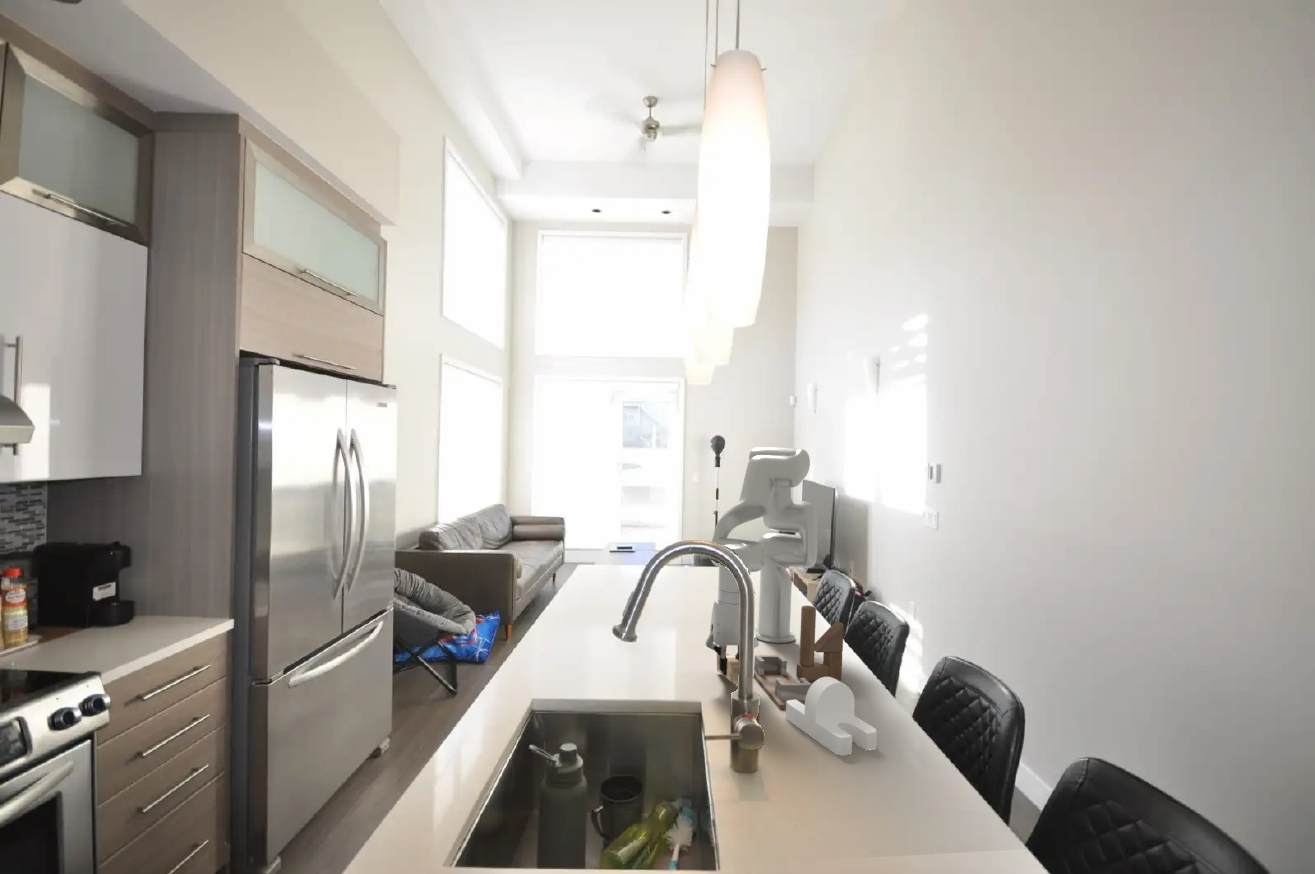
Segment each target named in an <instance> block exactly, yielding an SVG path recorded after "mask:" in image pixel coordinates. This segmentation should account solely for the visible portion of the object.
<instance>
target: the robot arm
mask: <svg viewBox="0 0 1315 874" xmlns="http://www.w3.org/2000/svg"><path fill="white" fill-rule="evenodd" d="M748 457H749V458H748V463H747V466H746V469H745V473H744V479H743V483H742V488H741V491H740V496H739V499H738V502H737V503H735V505H733V506H732V507H731V508H729V509H728V510H727V511H726V512H725V513H724V514H723V515H722V516H721V517H720V519H719V520H718V522H717V523H716V525H715V528H714V532H713V537H712V540H711V543H712V542H716V543H717V544H720V545H725V546H726V547H728V548H730V549H731V550H734V552H735V553H736V554H738V555H739V558H740V559H742V561H743V563H744V564H745V565H746V566H747V568H748V573H749V575H750V576H751V573H755V572H756V573H757V572H759V571H760V575H759V577H760V578H759V580H760V581H759V598H758V599H759V604H758V606H759V607H758V623H757V625H758V626H757V627H758V628H755V629H756V637H755V638H754V648H753V649H755V648H758V646H759V645H760V643H759V642H758V640H760V641H762V642H765V643H767V642H768V643H774V644H775V643H776V644H786V643H791V642H793V641H795V638H796V637H795V636H796V635H795V634H794V633H793V632H792V631H791V611H792V610H791V609H792V608H791V607H792V589H793V588H792V586H793V585H792V584H793V583H792V582H793V581H792V578H791V575H790V574H789V573H790V572H788V569H786V567H793V568H801V569H809V568H811V569H812V568H813V567H814V566H815V564H816V562H817V557H818V516H817V515H818V514H817V510H816V507H815V505H814V504H813V503H812V502H811V501H810V502H809V501H805V500H794V499H793V498H792V488H796V487H797V486H799V485H801V482H803V480H804V479H805V478H806V476H807V475H808V473H809V470H810V466H811V459H810V458H811V457H810V455H809V452H808V451H807V450H805V449H804V448H796V447H794V448H792V447H790V448H789V447H775V446H773V447H772V446H760V447H759V446H758V447H754V448H752V449H751V450H750V452H749V456H748ZM760 518H763V519H762V521H763V524H764V527H766V529H769V530H773V531H778V532H777V533H776V532H772V533H769V532H767V533H766V534H763V535H762V536H761V537H760V539H759V541H755V540H750V539H749V540H747V539H746V540H745V539H740V538H732V537H729V535H730V534H731V532H732V531H734V529H735V528H737V527H739V526H741V525H743V524H745V523H747V522H751V521H754V520H756V519H760ZM780 532H789V533H797V534H789V533H780ZM798 534H799V535H798ZM710 561H711V562H712V564H713V565H714V566H716V567H718V588H717V590H718V591H717V599H715V600H714V601H713V606H712V611H711V616H710V617H711V618H710V626H709V636H708V637H707V638H706V641H705V643H704V645H705V646H706V647H707V648H709V649H711V650H713V651H714V652H715V654H716V655H717V654H718V655H719V656H720V659H719V669H720V670H721V671H722V673H723V675H727V661H728V659H727V658H726V654H727V647H728V646H736V647H737V648H736V649H737V653H736V654H735V656H734V658H735V659H737V660H739V589H738V586H737V583H736V581H735V579H734V577H733V575H732V573H730V571H729V570H728V569H727V568H725V567H724V566H723V565H721V564H720V563H716V562H715V561H713V560H711V559H710ZM753 592H754V593H755V594H756V592H755V591H753ZM757 638H758V639H757ZM723 675H722V676H723Z"/></svg>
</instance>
